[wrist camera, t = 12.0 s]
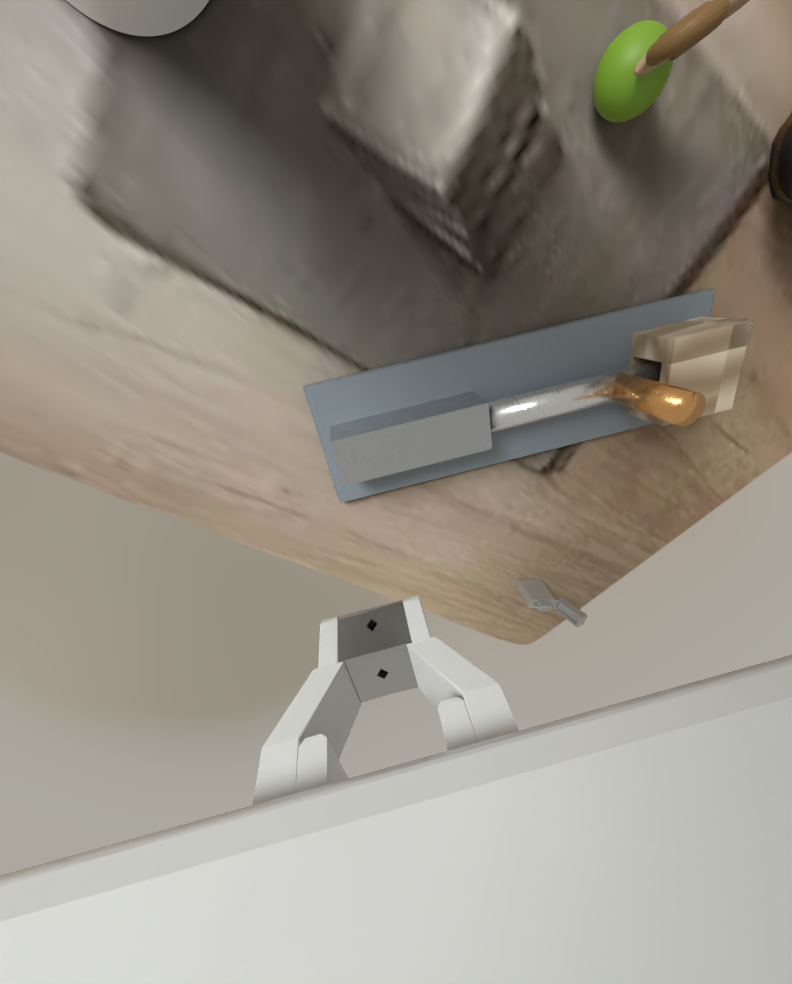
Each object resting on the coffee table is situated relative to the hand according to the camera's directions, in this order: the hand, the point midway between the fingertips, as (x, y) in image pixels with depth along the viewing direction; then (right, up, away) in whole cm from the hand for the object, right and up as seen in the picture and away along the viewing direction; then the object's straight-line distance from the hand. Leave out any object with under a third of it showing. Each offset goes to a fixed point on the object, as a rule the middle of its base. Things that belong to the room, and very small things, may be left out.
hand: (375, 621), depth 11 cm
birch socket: (+31, +18, +32) cm, 48 cm away
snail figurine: (+19, +39, +21) cm, 48 cm away
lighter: (+22, -10, +47) cm, 53 cm away
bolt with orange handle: (+19, +15, +31) cm, 39 cm away
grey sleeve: (+2, +11, +31) cm, 33 cm away
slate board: (+14, +15, +33) cm, 38 cm away
